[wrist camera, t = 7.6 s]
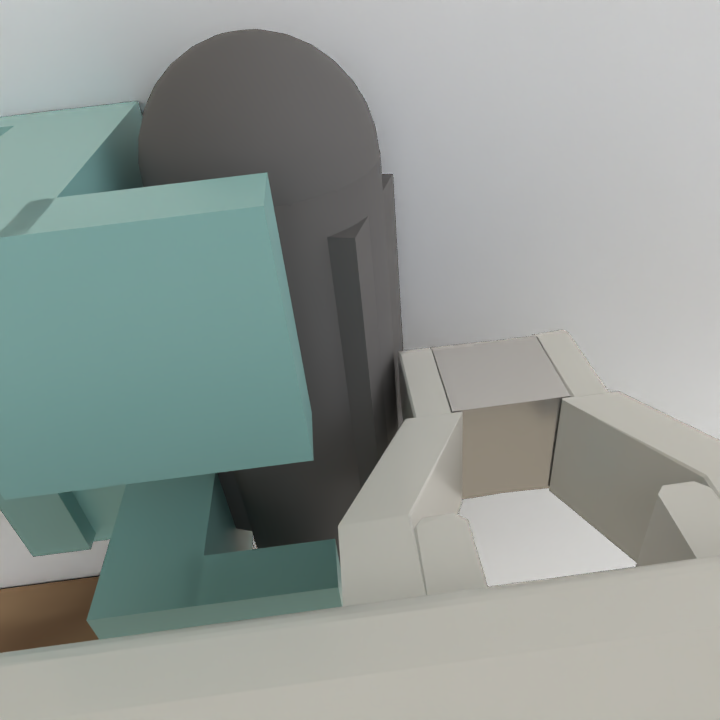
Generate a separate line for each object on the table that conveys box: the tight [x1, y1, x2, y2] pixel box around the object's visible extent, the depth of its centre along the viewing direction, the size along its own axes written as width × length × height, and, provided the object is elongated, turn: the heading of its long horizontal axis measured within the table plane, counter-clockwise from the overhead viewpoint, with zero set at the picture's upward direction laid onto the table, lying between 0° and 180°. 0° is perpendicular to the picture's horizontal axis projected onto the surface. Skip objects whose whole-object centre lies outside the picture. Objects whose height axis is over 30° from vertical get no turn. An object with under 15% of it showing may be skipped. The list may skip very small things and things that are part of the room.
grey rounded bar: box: [138, 29, 403, 568], centre depth 10 cm, size 10×3×3 cm, turn 5°
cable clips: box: [0, 101, 343, 639], centre depth 9 cm, size 6×8×4 cm
